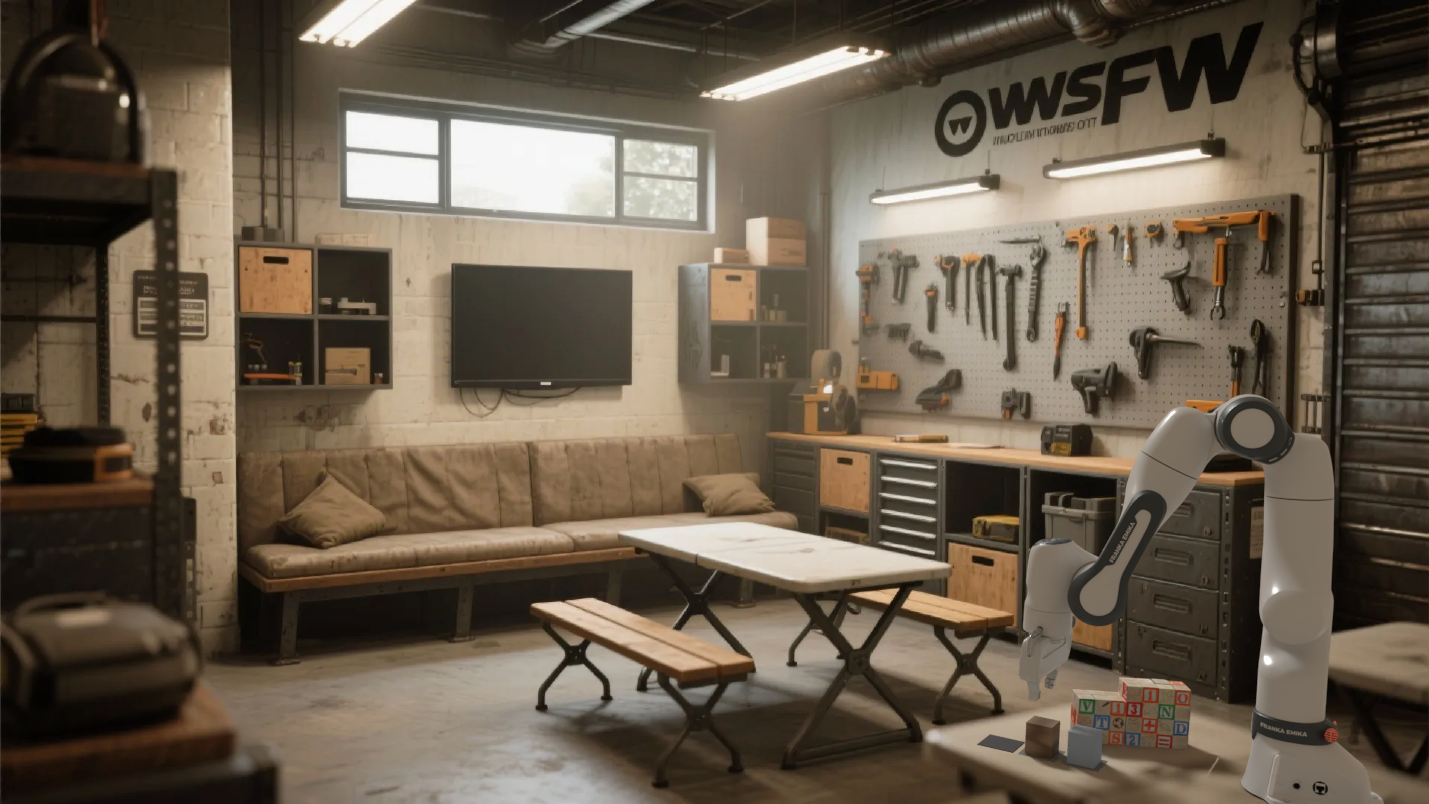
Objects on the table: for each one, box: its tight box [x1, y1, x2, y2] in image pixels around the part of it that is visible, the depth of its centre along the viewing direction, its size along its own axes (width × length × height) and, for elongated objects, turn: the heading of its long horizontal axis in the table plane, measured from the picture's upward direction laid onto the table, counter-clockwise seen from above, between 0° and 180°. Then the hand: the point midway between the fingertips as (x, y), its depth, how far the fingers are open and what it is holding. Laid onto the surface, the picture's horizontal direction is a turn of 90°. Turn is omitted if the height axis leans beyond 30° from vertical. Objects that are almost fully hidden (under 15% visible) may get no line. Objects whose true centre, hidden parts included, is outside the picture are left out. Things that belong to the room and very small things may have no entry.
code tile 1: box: [1017, 747, 1066, 763], centre depth 224 cm, size 7×7×1 cm
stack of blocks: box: [1069, 676, 1192, 750], centre depth 232 cm, size 21×6×12 cm, turn 85°
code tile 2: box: [1059, 756, 1108, 773], centre depth 220 cm, size 7×7×1 cm
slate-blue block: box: [1066, 724, 1103, 769], centre depth 220 cm, size 5×5×6 cm
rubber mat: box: [976, 734, 1025, 754], centre depth 229 cm, size 7×7×1 cm
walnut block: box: [1024, 715, 1061, 759], centre depth 224 cm, size 5×5×6 cm
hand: (1042, 693), depth 224 cm, fingers open, 8 cm apart
